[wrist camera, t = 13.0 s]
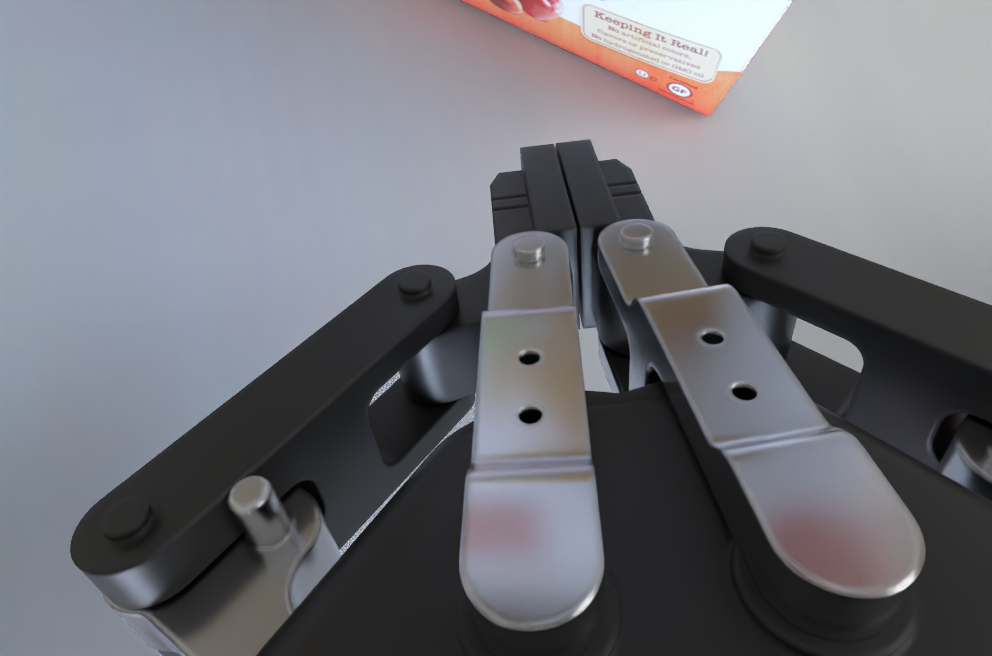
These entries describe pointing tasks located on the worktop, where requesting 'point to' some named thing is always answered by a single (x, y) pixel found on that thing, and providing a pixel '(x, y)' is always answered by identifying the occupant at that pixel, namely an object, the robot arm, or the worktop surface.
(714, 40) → the cracker box
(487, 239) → the worktop surface
